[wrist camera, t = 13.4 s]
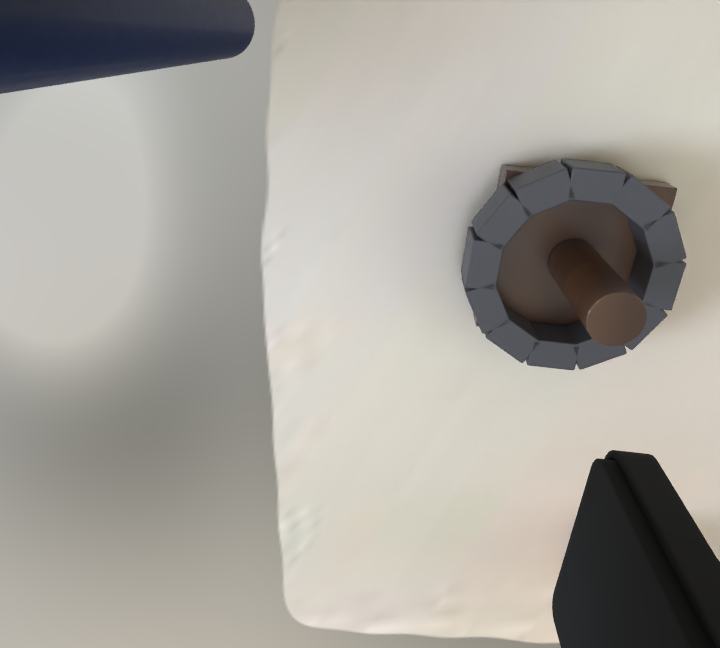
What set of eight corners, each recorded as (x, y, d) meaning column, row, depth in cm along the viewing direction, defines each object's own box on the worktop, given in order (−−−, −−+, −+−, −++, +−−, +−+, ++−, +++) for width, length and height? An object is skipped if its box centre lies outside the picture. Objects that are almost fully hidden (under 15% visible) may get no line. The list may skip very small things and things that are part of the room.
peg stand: (473, 316, 39) (494, 397, 30) (501, 164, 35) (535, 207, 27) (623, 332, 39) (688, 419, 30) (667, 182, 35) (755, 231, 27)
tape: (449, 337, 38) (452, 357, 36) (481, 149, 34) (488, 157, 31) (634, 358, 38) (649, 379, 36) (691, 172, 33) (712, 182, 31)
